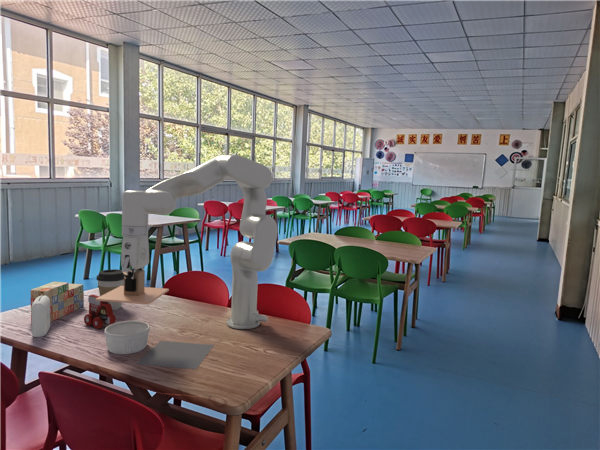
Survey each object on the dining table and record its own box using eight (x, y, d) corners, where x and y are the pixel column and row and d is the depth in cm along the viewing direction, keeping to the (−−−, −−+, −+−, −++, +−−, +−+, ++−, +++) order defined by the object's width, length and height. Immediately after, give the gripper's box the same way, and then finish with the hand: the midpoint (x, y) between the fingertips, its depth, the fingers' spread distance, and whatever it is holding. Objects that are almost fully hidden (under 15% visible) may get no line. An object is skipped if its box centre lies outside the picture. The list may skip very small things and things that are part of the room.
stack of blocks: (69, 305, 175) (69, 275, 173) (84, 306, 174) (83, 277, 173) (30, 322, 154) (30, 289, 152) (46, 324, 153) (46, 290, 152)
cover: (168, 290, 140) (169, 267, 139) (148, 304, 124) (149, 279, 123) (121, 287, 141) (121, 264, 140) (95, 300, 125) (95, 275, 124)
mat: (213, 346, 140) (213, 345, 140) (196, 370, 122) (196, 369, 122) (160, 341, 142) (160, 340, 141) (135, 365, 124) (135, 364, 124)
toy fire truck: (102, 331, 148) (102, 302, 147) (80, 323, 154) (80, 295, 153) (120, 326, 154) (120, 298, 153) (98, 318, 160) (98, 291, 159)
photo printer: (37, 327, 149) (37, 293, 147) (51, 326, 150) (51, 292, 149) (30, 338, 139) (29, 301, 138) (45, 337, 141) (44, 300, 139)
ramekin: (121, 361, 126) (122, 338, 125) (95, 350, 133) (95, 328, 132) (158, 347, 137) (158, 326, 137) (131, 337, 144) (131, 317, 143)
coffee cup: (120, 302, 182) (120, 267, 180) (131, 309, 173) (131, 272, 172) (92, 306, 174) (92, 270, 172) (101, 314, 166) (101, 276, 164)
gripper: (134, 235, 122) (133, 297, 124) (157, 228, 139) (156, 283, 141) (109, 233, 122) (108, 295, 124) (135, 227, 139) (134, 282, 141)
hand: (134, 288), depth 132 cm, fingers closed on cover, 4 cm apart
